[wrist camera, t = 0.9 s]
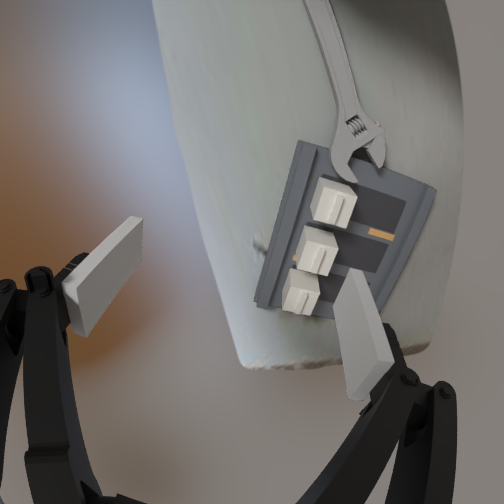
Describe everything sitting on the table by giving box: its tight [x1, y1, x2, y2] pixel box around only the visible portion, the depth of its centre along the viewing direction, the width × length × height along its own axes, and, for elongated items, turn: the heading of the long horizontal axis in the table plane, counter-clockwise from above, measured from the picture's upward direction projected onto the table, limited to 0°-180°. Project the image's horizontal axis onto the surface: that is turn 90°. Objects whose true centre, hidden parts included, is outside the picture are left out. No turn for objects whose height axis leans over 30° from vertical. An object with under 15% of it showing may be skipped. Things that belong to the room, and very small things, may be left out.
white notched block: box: [310, 177, 357, 229], centre depth 30 cm, size 4×4×5 cm
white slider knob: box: [296, 225, 339, 276], centre depth 33 cm, size 4×4×5 cm
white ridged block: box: [282, 268, 320, 316], centre depth 36 cm, size 4×4×5 cm
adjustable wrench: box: [302, 0, 386, 183], centre depth 25 cm, size 25×6×2 cm, turn 10°
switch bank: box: [254, 140, 437, 319], centre depth 36 cm, size 22×18×2 cm
